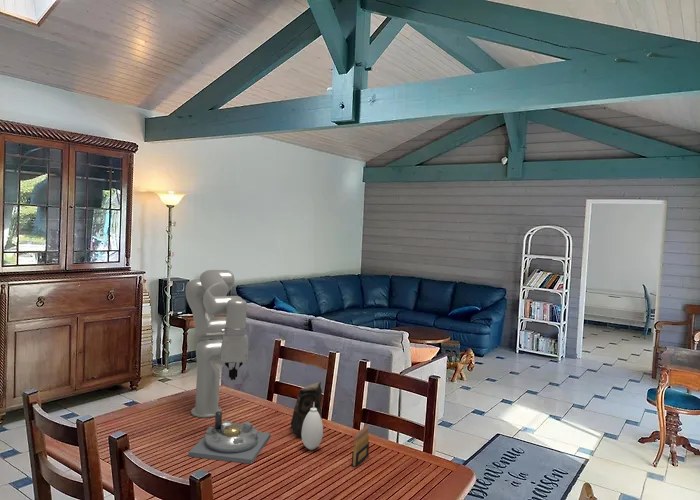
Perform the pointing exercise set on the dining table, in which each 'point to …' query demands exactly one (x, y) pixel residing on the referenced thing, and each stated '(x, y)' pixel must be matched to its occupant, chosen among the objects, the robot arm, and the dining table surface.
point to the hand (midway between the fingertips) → (232, 378)
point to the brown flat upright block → (360, 446)
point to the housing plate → (242, 457)
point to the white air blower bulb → (312, 429)
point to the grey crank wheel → (230, 436)
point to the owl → (306, 406)
